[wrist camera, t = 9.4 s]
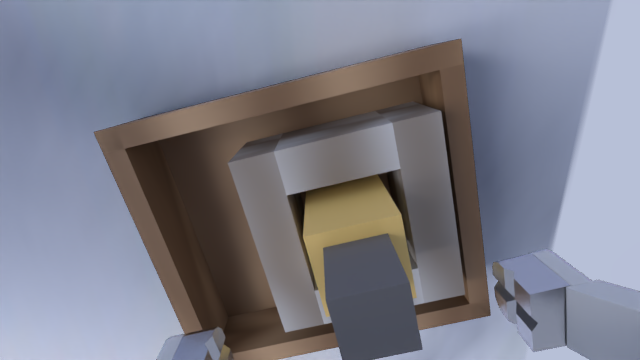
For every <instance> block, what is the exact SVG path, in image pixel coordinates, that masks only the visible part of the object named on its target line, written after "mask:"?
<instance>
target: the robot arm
mask: <svg viewBox="0 0 640 360" xmlns="http://www.w3.org/2000/svg"><path fill="white" fill-rule="evenodd" d="M492 269H493V275H494V276H495V277H496V279H497V280H498V282H497V284H496V285H495V287H494V289H495V297H496V300H497V303H498V305H499V308H500V310H501V311H502V313H503V315H504V316H505V317H506V319H507V320H508V321H510V322H512V323H514V324H516V325H517V329H518V334H519V335H520V336H521V337H522V339H523V340H524V341H525V342H526V344H527V345H528V346H529V347H530V349H531V350H532V351H533V352H535V351H541V350H546V349H552V348H557V347H562V346H567V347H568V348H569V349H571V350H573V351H575V352H577V353H579V354H580V355H582V356H584V357H586V358H588V359H589V360H640V291H637V290H633V289H630V288H626V287H622V286H619V285H615V284H612V283H608V282H605V281H601V280H595V281H592V280H591V279H589V278H588V277H586V276H585V275H584V274H582V273H581V272H579V271H578V270H577V269H576V268H574V267H573V266H571V265H570V264H569V263H567V262H566V261H565V260H564V259H562V258H561V257H559V256H558V255H557V254H555V253H554V252H553V251H551V250H549V249H543V250H539V251H535V252H531V253H528V254H526V255H522V256H518V257H513V258H509V259H505V260H501V261H497V262H493V266H492ZM224 340H225V335H224V333H223V331H222V328H220V327H214V328H209V329H204V330H200V331H195V332H190V333H186V334H181V335H177V336H173V337H170V338H168V339H167V340H166V341H165V343H164V345H163V347H162V349H161V351H160V353H159V355H158V357H157V359H156V360H234V357H233V354H232V351H231V349H230V348H229V347H227V346H226V345H224Z"/></svg>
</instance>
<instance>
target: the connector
mask: <svg viewBox="0 0 640 360" xmlns="http://www.w3.org/2000/svg"><path fill="white" fill-rule="evenodd" d="M303 239H304V242H305V246H306V249H307V253H308V256H309V260H310V263H311V267H312V270H313V273H314V277H315V280H316V284H317V287H318V291H319V294H320V298H321V301H322V304H323V308H324V311H325V315H326V317H329V316H330V318H331V321H332V325H333V328H334V332H335V335H336V339H337V342H338V346H339V349H340V353H341V356H342V360H373V359H378V358H383V357H388V356H393V355H398V354H403V353H407V352H412V351H417V350H422V344H421V339H420V333H419V328H418V323H417V318H416V312H415V307H414V302H413V298H417V296H416V290H415V285H414V280H413V274H412V269H411V263H410V258H409V253H408V247H407V242H406V237H405V231H404V226H403V220H402V215H401V213H400V211H399V210H398V208H397V206H396V205H395V203H394V201H393V200H392V198H391V196H390V195H389V193H388V191H387V190H386V188H385V186H384V185H383V183H382V181H381V180H380V178H379V176H378V175H377V174H376V175H372V176H368V177H363V178H359V179H355V180H350V181H346V182H342V183H338V184H333V185H329V186H325V187H321V188H316V189H312V190H308V191H306V199H305V214H304V229H303Z"/></svg>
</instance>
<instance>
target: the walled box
mask: <svg viewBox="0 0 640 360" xmlns="http://www.w3.org/2000/svg"><path fill="white" fill-rule="evenodd" d="M94 134H95V136H96V139H97V141H98V143H99V145H100V148H101V150H102V152H103V154H104V156H105V159H106V161H107V163H108V165H109V167H110V170H111V172H112V174H113V176H114V178H115V181H116V183H117V185H118V187H119V190H120V192H121V194H122V196H123V198H124V201H125V203H126V205H127V207H128V209H129V212H130V214H131V216H132V218H133V220H134V223H135V225H136V227H137V229H138V232H139V234H140V236H141V238H142V240H143V243H144V245H145V247H146V249H147V251H148V254H149V256H150V258H151V260H152V262H153V265H154V267H155V269H156V271H157V274H158V276H159V278H160V280H161V282H162V285H163V287H164V289H165V291H166V293H167V296H168V298H169V300H170V302H171V304H172V307H173V309H174V311H175V313H176V316H177V318H178V320H179V322H180V324H181V327H182V329H183V331H184V333H185V334H186V333H190V332H195V331H200V330H204V329H209V328H214V327H220V328H222V331H223V333H224V335H225V340H224V345H226V346H227V347H229V348H230V349H231V351H232V354H233V357H234V360H277V359H282V358H287V357H292V356H297V355H302V354H307V353H311V352H316V351H321V350H326V349H331V348H336V347H339V346H338V342H337V339H336V335H335V332H334V328H333V325H332V321H331V318H330V316H329V317H326V315H325V311H324V308H323V304H322V301H321V298H320V294H319V291H318V287H317V284H316V280H315V277H314V273H313V270H312V267H311V263H310V260H309V256H308V253H307V249H306V246H305V242H304V239H303V229H304V214H305V199H306V191H308V190H312V189H316V188H321V187H325V186H329V185H333V184H338V183H342V182H346V181H350V180H355V179H359V178H363V177H368V176H372V175H376V174H377V175H378V176H379V178H380V180H381V181H382V183H383V185H384V186H385V188H386V190H387V191H388V193H389V195H390V196H391V198H392V200H393V201H394V203H395V205H396V206H397V208H398V210H399V211H400V213H401V215H402V220H403V226H404V231H405V237H406V242H407V247H408V253H409V258H410V263H411V269H412V274H413V280H414V285H415V290H416V296H417V298H413V302H414V307H415V312H416V318H417V323H418V328H419V330H423V329H428V328H432V327H437V326H442V325H447V324H452V323H457V322H462V321H466V320H471V319H476V318H481V317H486V316H491V314H490V304H489V295H488V286H487V276H486V267H485V257H484V248H483V239H482V229H481V220H480V210H479V201H478V192H477V182H476V173H475V163H474V154H473V144H472V135H471V126H470V116H469V107H468V97H467V88H466V79H465V69H464V60H463V50H462V41H461V39H457V40H452V41H447V42H442V43H437V44H432V45H428V46H424V47H420V48H416V49H412V50H408V51H404V52H400V53H396V54H393V55H389V56H385V57H381V58H377V59H373V60H369V61H365V62H361V63H357V64H353V65H349V66H345V67H342V68H338V69H334V70H330V71H326V72H322V73H318V74H314V75H310V76H306V77H302V78H298V79H295V80H291V81H287V82H283V83H279V84H275V85H271V86H267V87H263V88H259V89H255V90H251V91H247V92H244V93H240V94H236V95H232V96H228V97H224V98H220V99H216V100H212V101H208V102H204V103H200V104H197V105H193V106H189V107H185V108H181V109H177V110H173V111H169V112H165V113H161V114H157V115H153V116H149V117H146V118H142V119H138V120H134V121H131V122H127V123H124V124H120V125H117V126H113V127H110V128H107V129H103V130H100V131H96V132H94Z"/></svg>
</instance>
